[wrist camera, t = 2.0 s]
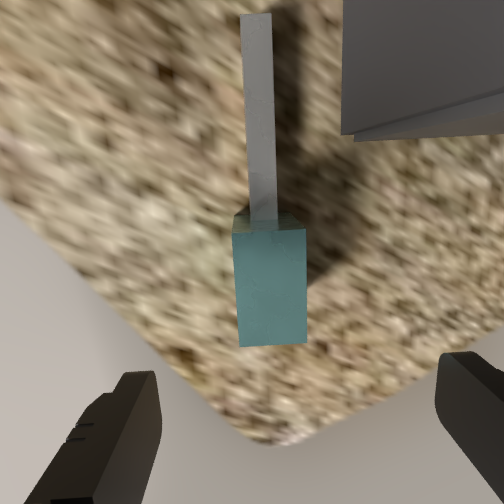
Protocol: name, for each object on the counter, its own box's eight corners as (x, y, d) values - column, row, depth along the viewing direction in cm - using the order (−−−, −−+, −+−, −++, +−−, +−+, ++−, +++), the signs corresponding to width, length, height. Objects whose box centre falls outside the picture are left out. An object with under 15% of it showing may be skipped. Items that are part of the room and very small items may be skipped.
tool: (222, 34, 18) (213, -21, 12) (285, 31, 18) (304, -25, 13) (239, 303, 22) (239, 347, 17) (291, 299, 22) (307, 342, 17)
